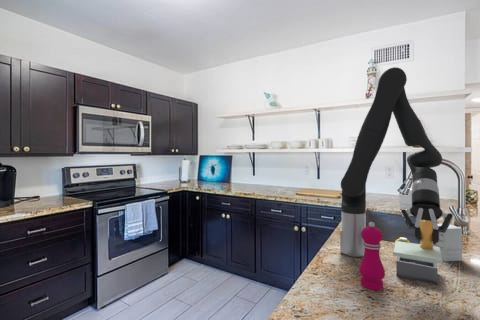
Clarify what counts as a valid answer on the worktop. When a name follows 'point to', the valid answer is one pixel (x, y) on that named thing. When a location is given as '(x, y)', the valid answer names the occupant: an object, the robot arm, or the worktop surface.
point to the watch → (402, 239)
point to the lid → (420, 246)
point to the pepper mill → (371, 259)
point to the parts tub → (416, 270)
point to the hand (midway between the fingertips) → (426, 241)
